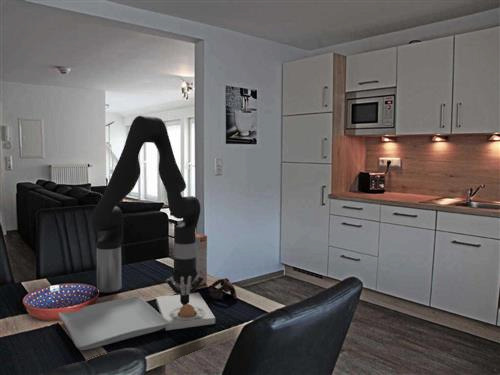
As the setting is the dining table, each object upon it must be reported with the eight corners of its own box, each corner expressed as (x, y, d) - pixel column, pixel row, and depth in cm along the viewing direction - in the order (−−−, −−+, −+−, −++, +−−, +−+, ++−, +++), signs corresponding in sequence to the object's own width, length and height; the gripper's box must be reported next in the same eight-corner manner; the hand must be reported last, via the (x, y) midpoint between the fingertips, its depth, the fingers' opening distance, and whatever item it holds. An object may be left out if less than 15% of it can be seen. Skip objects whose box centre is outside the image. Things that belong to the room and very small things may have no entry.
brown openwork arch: (237, 303, 149) (227, 286, 147) (215, 312, 151) (205, 296, 149) (239, 285, 160) (230, 269, 158) (219, 293, 162) (209, 277, 160)
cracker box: (207, 283, 169) (207, 234, 167) (197, 287, 165) (197, 237, 163) (183, 276, 178) (183, 230, 176) (173, 280, 173) (173, 232, 171)
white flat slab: (165, 330, 125) (165, 324, 125) (156, 302, 148) (156, 297, 147) (215, 323, 131) (215, 317, 130) (198, 297, 153) (198, 292, 153)
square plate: (57, 322, 130) (57, 311, 130) (139, 304, 146) (139, 294, 146) (77, 358, 108) (77, 345, 108) (170, 333, 124) (170, 321, 124)
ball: (180, 304, 131) (177, 305, 136) (181, 320, 130) (178, 321, 134) (195, 302, 133) (192, 303, 137) (196, 318, 131) (193, 319, 136)
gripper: (201, 251, 141) (200, 298, 143) (163, 253, 137) (163, 302, 138) (206, 256, 134) (206, 306, 136) (166, 259, 130) (166, 311, 131)
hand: (184, 304), depth 137 cm, fingers closed
